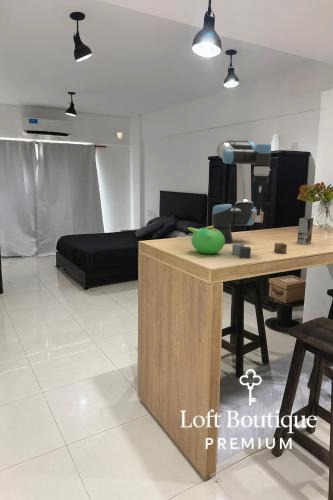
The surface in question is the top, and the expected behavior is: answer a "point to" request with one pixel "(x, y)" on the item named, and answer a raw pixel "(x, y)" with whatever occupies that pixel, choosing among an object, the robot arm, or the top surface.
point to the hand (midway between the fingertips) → (257, 221)
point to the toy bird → (207, 239)
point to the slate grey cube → (236, 248)
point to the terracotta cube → (261, 217)
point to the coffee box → (305, 231)
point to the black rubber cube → (245, 252)
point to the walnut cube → (280, 248)
